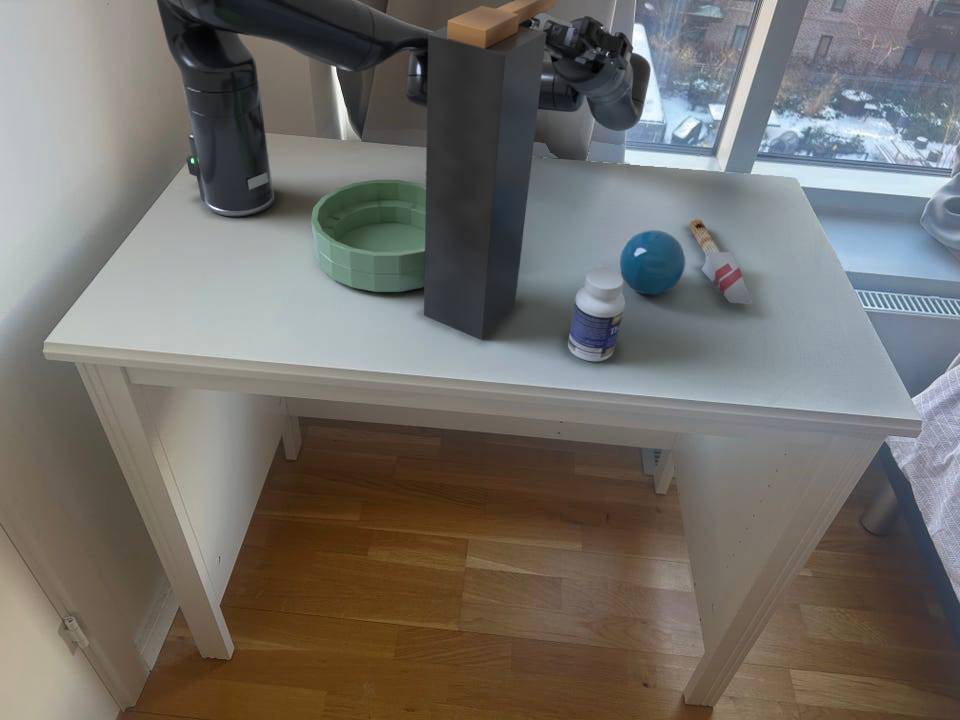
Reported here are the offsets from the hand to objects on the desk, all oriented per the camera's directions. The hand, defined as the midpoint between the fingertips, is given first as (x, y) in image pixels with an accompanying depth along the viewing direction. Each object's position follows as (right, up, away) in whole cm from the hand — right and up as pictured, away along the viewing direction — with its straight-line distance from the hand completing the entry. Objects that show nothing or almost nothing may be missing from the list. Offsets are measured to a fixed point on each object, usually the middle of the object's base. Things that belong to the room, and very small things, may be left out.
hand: (547, 17), depth 77 cm
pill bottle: (+6, -35, +8) cm, 36 cm away
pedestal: (-8, -30, +12) cm, 33 cm away
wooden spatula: (-4, -4, -7) cm, 9 cm away
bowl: (-19, -22, +20) cm, 35 cm away
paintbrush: (+24, -24, +22) cm, 41 cm away
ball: (+14, -27, +18) cm, 35 cm away
